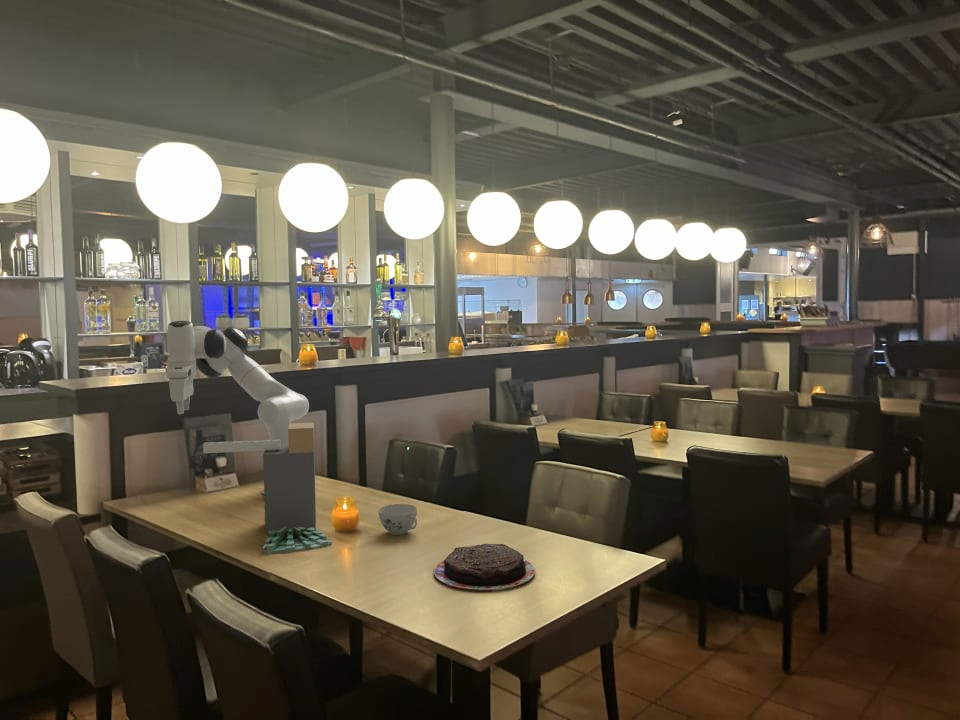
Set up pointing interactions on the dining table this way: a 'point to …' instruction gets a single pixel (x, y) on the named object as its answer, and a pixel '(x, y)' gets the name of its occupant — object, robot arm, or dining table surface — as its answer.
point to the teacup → (398, 518)
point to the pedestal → (291, 481)
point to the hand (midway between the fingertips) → (183, 412)
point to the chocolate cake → (484, 568)
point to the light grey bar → (241, 446)
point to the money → (294, 540)
